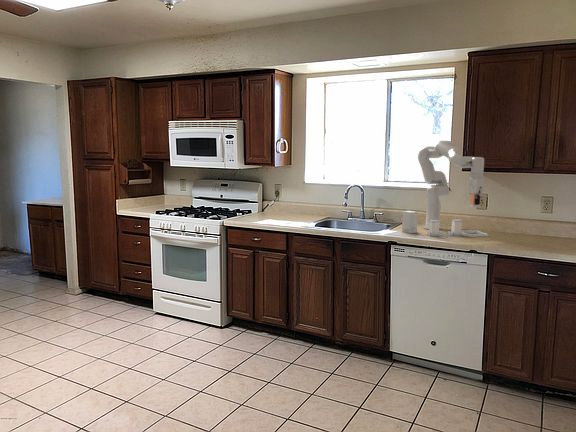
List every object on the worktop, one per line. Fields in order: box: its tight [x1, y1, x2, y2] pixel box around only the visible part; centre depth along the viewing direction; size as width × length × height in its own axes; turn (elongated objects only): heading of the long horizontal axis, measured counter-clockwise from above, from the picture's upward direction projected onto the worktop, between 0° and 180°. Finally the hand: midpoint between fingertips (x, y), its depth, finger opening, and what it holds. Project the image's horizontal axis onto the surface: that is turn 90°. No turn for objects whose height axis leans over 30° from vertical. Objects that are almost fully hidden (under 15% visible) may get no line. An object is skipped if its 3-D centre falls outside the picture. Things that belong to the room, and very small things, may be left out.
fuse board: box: [424, 230, 465, 238], centre depth 304 cm, size 10×24×4 cm, turn 100°
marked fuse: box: [469, 193, 482, 208], centre depth 304 cm, size 4×5×10 cm
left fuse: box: [428, 220, 440, 236], centre depth 302 cm, size 4×5×10 cm
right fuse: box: [450, 218, 463, 236], centre depth 305 cm, size 4×5×10 cm
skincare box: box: [401, 210, 418, 234], centre depth 315 cm, size 8×7×16 cm
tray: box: [462, 229, 489, 238], centre depth 308 cm, size 14×14×3 cm
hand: (475, 203), depth 305 cm, fingers closed on marked fuse, 4 cm apart
